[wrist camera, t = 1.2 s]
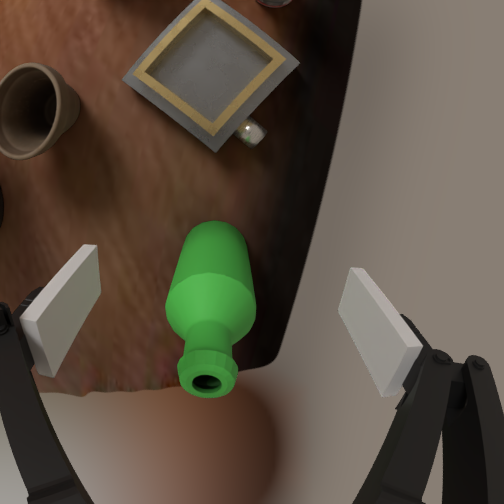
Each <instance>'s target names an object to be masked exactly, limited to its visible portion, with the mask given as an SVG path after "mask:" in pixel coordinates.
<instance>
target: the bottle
mask: <svg viewBox="0 0 504 504" xmlns="http://www.w3.org/2000/svg"><path fill="white" fill-rule="evenodd" d="M165 308H166V315H167V320H168V322H169V323H170V325H171V327H172V329H173V330H174V331H175V332H176V333H177V334H178V335H179V336H180V337H181V338H182V339H184V340H185V348H184V355H183V357H182V358H181V359H180V360H179V362H178V365H177V368H178V374H179V379H180V384H181V386H182V387H183V388H184V390H186V391H188V392H189V393H190V394H192V395H195V396H198V397H203V398H216V397H220V396H223V395H226V394H227V393H228V392H230V391H231V390H232V388H233V387H234V384H235V381H236V378H237V375H238V366H237V365H236V363H235V361H234V360H233V359H232V345H233V344H234V343H236V342H238V341H239V340H240V339H241V338H242V337H243V336H245V335H246V334H247V333H248V332H249V331H250V329H251V327H252V325H253V323H254V321H255V317H256V301H255V294H254V288H253V281H252V275H251V269H250V262H249V256H248V250H247V245H246V242H245V240H244V237H243V235H242V234H241V233H240V232H239V231H238V230H237V228H235V227H234V226H232V225H230V224H228V223H226V222H221V221H209V222H203V223H201V224H200V225H198V226H196V227H194V228H193V229H192V230H191V231H190V233H189V234H188V235H187V236H186V239H185V242H184V245H183V248H182V251H181V255H180V258H179V261H178V264H177V267H176V270H175V274H174V277H173V280H172V284H171V287H170V291H169V294H168V297H167V301H166V304H165Z"/></svg>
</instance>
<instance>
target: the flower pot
mask: <svg viewBox="0 0 504 504" xmlns="http://www.w3.org/2000/svg"><path fill="white" fill-rule="evenodd" d="M79 112H80V100H79V97H78V95H77V93H76V92H75V90H74V89H73V88H71V87H70V86H69V85H68V84H66V82H65V80H64V79H63V77H62V76H61V75H60V74H59V73H58V72H57V71H56V70H55V69H53V68H52V67H50V66H47V65H43V64H39V63H25V64H22V65H19V66H17V67H15V68H14V69H13V70H11V71H10V72H9V73H8V74H7V75H6V76H5V77H4V78H3V79H2V80H1V82H0V152H1V153H3V154H4V155H5V156H7V157H8V158H11V159H14V160H26V159H30V158H32V157H35V156H37V155H40V154H42V153H44V152H45V151H47V150H48V149H49V148H51V147H52V146H53V145H54V144H55V142H56V141H57V140H58V138H59V137H60V135H61V134H62V133H64V132H65V131H66V130H68V129H69V128H70V127H71V126H72V125H73V124H74V123H75V121H76V120H77V118H78V115H79Z"/></svg>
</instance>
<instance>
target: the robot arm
mask: <svg viewBox="0 0 504 504" xmlns="http://www.w3.org/2000/svg"><path fill="white" fill-rule="evenodd" d="M2 219H3V197H2V192H1V188H0V227H1V224H2ZM100 294H101V285H100V276H99V264H98V252H97V245H86V244H84V245H83V246H82V247H81V248H80V249H79V250H78V251H77V252H76V253H75V254H74V255H73V256H72V257H71V259H70V260H69V261H68V262H67V263H66V264H65V265H64V266H63V267H62V268H61V269H60V271H59V272H58V273H57V274H56V275H55V276H54V277H53V278H52V280H51V281H50V282H49V283H48V284H47V285H46V286H45V288H44V287H39V288H37V289H35V290H34V291H32V292H31V293H30V294H29V295H28V296H27V297H26V298H25V300H24V301H23V302H22V303H21V305H19V307H18V308H17V309H16V310H15V311H14V313H13V314H12V315H11V312H10V308H9V306H8V304H6V303H4V302H0V413H1V416H2V420H3V424H4V427H5V430H6V434H7V437H8V440H9V443H10V446H11V449H12V452H13V455H14V458H15V460H16V464H17V466H18V469H19V471H20V474H21V476H22V479H23V481H24V484H25V486H26V488H27V491H28V494H29V496H28V497H27V501H28V504H94V502H93V501H92V499H91V498H90V496H89V495H88V493H87V491H86V490H85V488H84V486H83V485H82V483H81V481H80V479H79V478H78V476H77V474H76V472H75V470H74V469H73V467H72V465H71V463H70V461H69V459H68V457H67V455H66V454H65V451H64V450H63V447H62V445H61V444H60V442H59V439H58V437H57V435H56V433H55V431H54V428H53V426H52V424H51V422H50V419H49V417H48V415H47V412H46V410H45V408H44V405H43V402H42V400H41V397H40V395H39V392H38V389H37V387H36V384H35V381H34V378H33V375H32V373H31V368H32V367H33V365H34V364H35V366H36V369H37V372H38V374H40V375H44V376H48V377H52V378H54V377H55V375H56V373H57V371H58V369H59V367H60V365H61V363H62V361H63V359H64V358H65V356H66V354H67V352H68V350H69V348H70V346H71V344H72V343H73V341H74V339H75V337H76V335H77V333H78V332H79V330H80V328H81V326H82V324H83V323H84V321H85V319H86V317H87V316H88V314H89V312H90V311H91V309H92V307H93V305H94V304H95V302H96V300H97V299H98V297H99V295H100ZM338 312H339V314H340V316H341V318H342V320H343V322H344V324H345V325H346V327H347V329H348V331H349V333H350V335H351V337H352V339H353V341H354V343H355V345H356V347H357V349H358V351H359V353H360V355H361V357H362V358H363V361H364V363H365V365H366V367H367V368H368V370H369V373H370V375H371V376H372V379H373V380H374V383H375V385H376V387H377V388H378V391H379V393H380V395H381V397H387V396H395V395H397V393H398V392H399V390H400V388H401V387H402V385H403V387H404V389H405V391H406V392H405V394H404V395H403V397H402V399H401V400H400V402H399V404H398V405H397V407H396V408H395V409H397V412H396V415H395V418H394V420H393V422H392V425H391V427H390V429H389V432H388V434H387V436H386V439H385V441H384V443H383V445H382V447H381V449H380V452H379V454H378V456H377V458H376V460H375V462H374V464H373V466H372V468H371V470H370V472H369V474H368V476H367V478H366V480H365V482H364V484H363V486H362V487H361V489H360V491H359V493H358V494H357V497H356V498H355V500H354V501H353V503H352V504H425V503H423V502H422V496H423V493H424V491H425V488H426V485H427V481H428V478H429V475H430V472H431V469H432V465H433V462H434V458H435V455H436V451H437V447H438V443H439V440H440V435H441V431H442V441H443V492H442V504H504V414H503V410H502V407H501V403H500V399H499V395H498V392H497V388H496V385H495V381H494V378H493V375H492V372H491V369H490V366H489V364H488V363H487V362H486V361H485V360H484V359H483V358H481V357H479V356H476V355H471V356H469V357H468V358H467V359H466V361H465V363H464V364H461V363H454V362H453V360H452V358H451V357H450V356H449V355H448V354H447V353H445V352H443V351H441V350H437V349H432V348H431V346H430V345H429V344H428V342H427V341H426V340H425V338H424V337H423V336H422V334H420V332H419V330H418V329H417V328H416V327H415V325H414V324H413V323H412V321H411V320H409V319H408V318H407V317H406V316H404V315H403V314H399V313H398V312H397V311H396V309H395V308H394V307H393V305H392V304H391V303H390V301H389V300H388V299H387V298H386V296H385V295H384V294H383V292H382V291H381V290H380V289H379V287H378V286H377V285H376V284H375V283H374V281H373V280H372V279H371V277H370V276H369V275H368V274H367V273H366V271H365V270H364V269H363V268H353V267H351V268H350V270H349V274H348V278H347V281H346V285H345V288H344V292H343V295H342V299H341V302H340V305H339V308H338Z"/></svg>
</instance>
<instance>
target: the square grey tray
mask: <svg viewBox="0 0 504 504" xmlns="http://www.w3.org/2000/svg"><path fill="white" fill-rule="evenodd" d="M299 64H300V62H299V61H298V60H297V59H295V58H294V57H293V56H292V55H291V54H290V53H289V52H287V51H286V50H285V49H284V48H283V47H282V46H280V45H279V44H278V43H277V42H276V41H274V40H273V39H272V38H271V37H269V36H268V35H267V34H266V33H264V32H263V31H262V30H261V29H259V28H258V27H257V26H255V25H254V24H253V23H251V22H250V21H249V20H248V19H246V18H245V17H243V16H242V15H241V14H239V13H238V12H237V11H235V10H234V9H232V8H231V7H230V6H228V5H227V4H225V3H224V2H222V1H221V0H194V1H193V2H192V3H191V4H190V5H189V6H188V7H187V8H186V9H185V10H184V11H182V12H181V13H180V14H179V15H178V16H177V17H176V18H175V19H174V20H173V22H172V23H171V24H170V25H169V26H168V27H167V28H166V29H165V30H164V31H163V32H162V33H161V34H160V35H159V36H158V37H157V38H156V40H155V41H154V42H153V43H152V44H151V45H150V46H149V47H148V49H147V50H146V51H145V52H144V53H143V54H142V56H141V57H140V58H139V59H138V60H137V61H136V63H135V64H134V65H133V66H132V68H131V69H130V70H129V71H128V72H127V74H126V75H125V76H124V78H123V79H122V81H124V82H125V83H126V84H128V85H129V86H131V87H132V88H133V89H135V90H136V91H137V92H139V93H140V94H141V95H143V96H144V97H145V98H147V99H148V100H149V101H150V102H152V103H153V104H154V105H156V106H157V107H158V108H160V109H161V110H162V111H164V112H165V113H166V114H167V115H169V116H170V117H171V118H173V119H174V120H175V121H176V122H178V123H179V124H180V125H181V126H183V127H184V128H185V129H187V130H188V131H189V132H190V133H192V134H193V135H194V136H195V137H197V138H198V139H199V140H200V141H202V142H203V143H204V144H205V145H207V146H208V147H209V148H210V149H211V150H213V151H214V152H215V153H216V152H217V151H218V150H219V148H220V147H221V146H222V145H223V144H224V143H225V142H226V140H227V139H228V138H229V137H230V136H231V135H232V134H234V135H235V136H236V137H237V138H238V139H240V140H241V141H242V142H243V143H244V144H246V145H247V146H248V147H249V148H250V149H252V148H254V147H255V146H256V145H257V144H258V143H259V142H260V141H261V140H262V139H263V137H264V136H265V135H266V133H267V132H268V131H267V130H266V129H264V128H263V127H262V126H261V125H260V124H259V123H257V122H256V121H255V120H254V119H253V118H252V117H250V116H249V115H250V114H251V113H252V112H253V111H254V110H255V109H256V107H257V106H258V105H259V104H260V103H261V102H262V101H263V100H264V99H265V98H266V97H267V96H268V95H269V94H270V93H271V92H272V91H273V90H274V89H275V88H276V87H277V86H278V85H279V84H280V83H281V82H282V80H283V79H284V78H285V77H286V76H287V75H288V74H289V73H290V72H291V71H293V70H294V69H295V68H296V67H297V66H298V65H299Z"/></svg>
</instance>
